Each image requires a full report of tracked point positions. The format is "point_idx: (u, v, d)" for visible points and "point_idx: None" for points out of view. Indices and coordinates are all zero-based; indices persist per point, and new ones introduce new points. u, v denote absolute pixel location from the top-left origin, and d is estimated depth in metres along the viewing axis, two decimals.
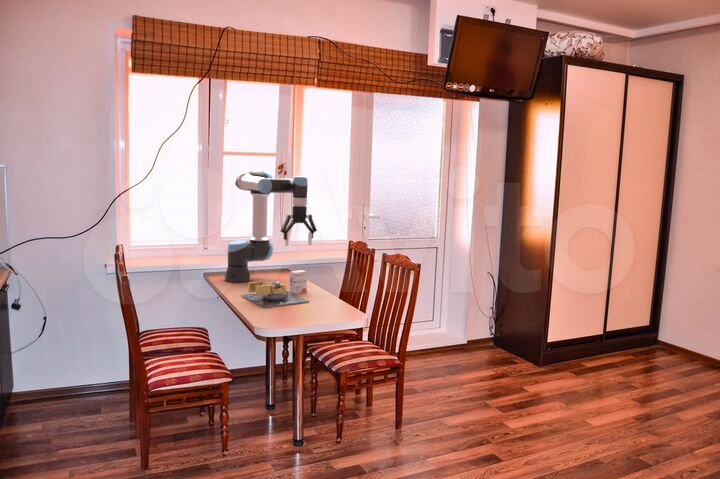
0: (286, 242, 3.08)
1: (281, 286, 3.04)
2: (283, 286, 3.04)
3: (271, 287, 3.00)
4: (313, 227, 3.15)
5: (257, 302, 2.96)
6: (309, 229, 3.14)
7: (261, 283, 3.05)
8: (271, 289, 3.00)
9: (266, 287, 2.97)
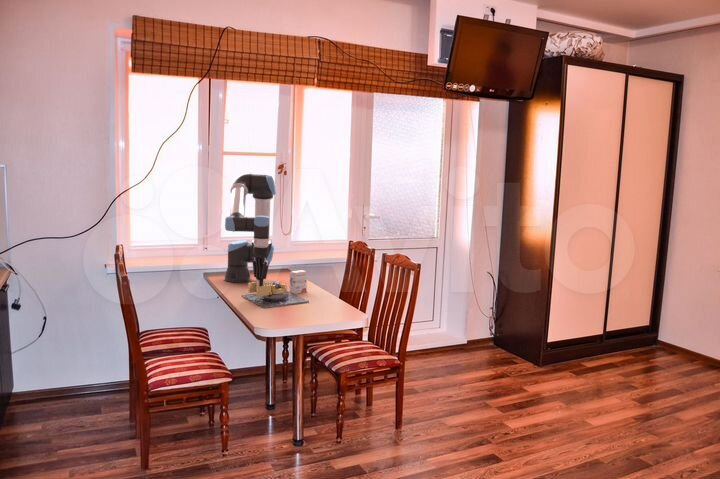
0: None
1: (281, 286, 3.04)
2: (283, 286, 3.04)
3: (272, 287, 3.00)
4: (261, 274, 2.94)
5: (257, 302, 2.96)
6: None
7: None
8: (271, 290, 3.00)
9: (267, 287, 2.97)
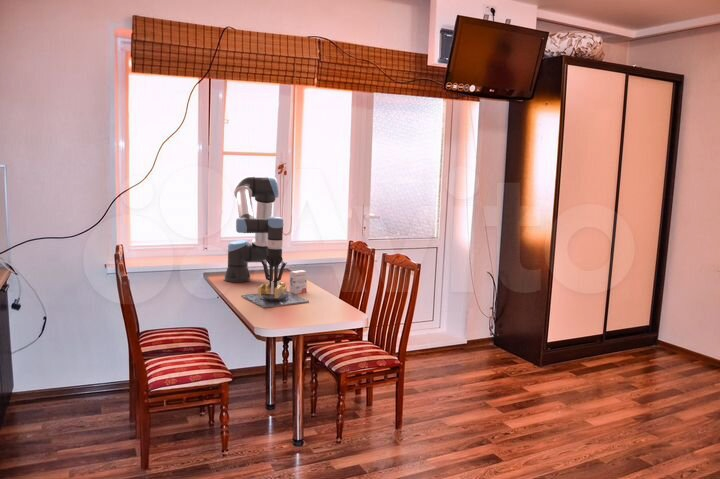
0: (271, 290, 2.95)
1: (282, 285, 3.07)
2: (284, 284, 3.08)
3: None
4: None
5: (257, 302, 2.96)
6: (274, 276, 2.94)
7: (265, 285, 3.00)
8: None
9: (280, 288, 2.97)
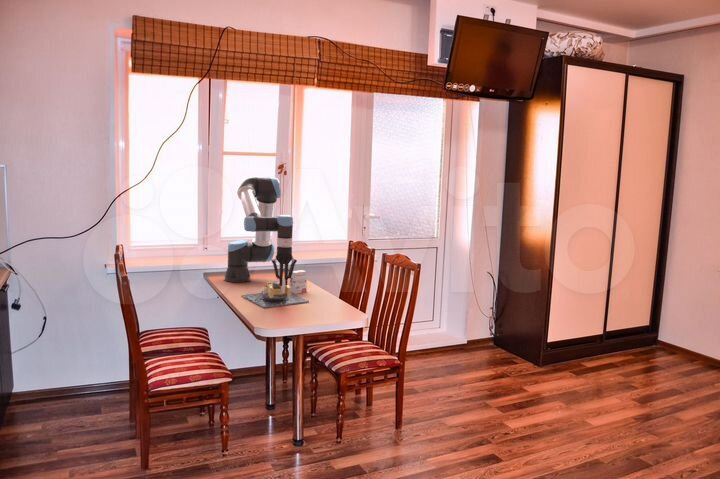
0: (281, 288, 2.96)
1: None
2: None
3: None
4: (290, 272, 2.95)
5: (257, 302, 2.96)
6: (285, 274, 2.95)
7: None
8: None
9: None
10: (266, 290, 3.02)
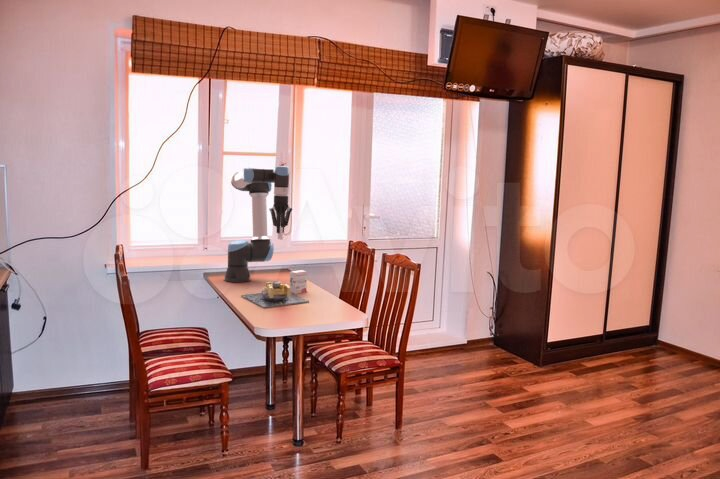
0: (279, 236, 3.12)
1: (280, 284, 3.08)
2: (282, 283, 3.09)
3: (283, 286, 3.03)
4: (286, 220, 3.13)
5: (257, 302, 2.96)
6: (282, 222, 3.12)
7: None
8: (283, 289, 3.03)
9: None
10: (266, 290, 3.02)
